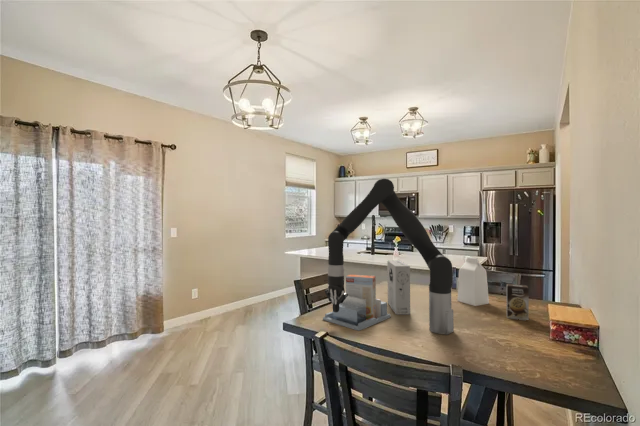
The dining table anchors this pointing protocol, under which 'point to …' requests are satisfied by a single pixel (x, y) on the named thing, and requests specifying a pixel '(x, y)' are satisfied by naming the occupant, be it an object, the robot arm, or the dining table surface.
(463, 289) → the milk
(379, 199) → the robot arm
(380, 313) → the vise body
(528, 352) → the dining table surface
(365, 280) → the cracker box
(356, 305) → the sliding jaw
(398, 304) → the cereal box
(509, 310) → the coffee box
